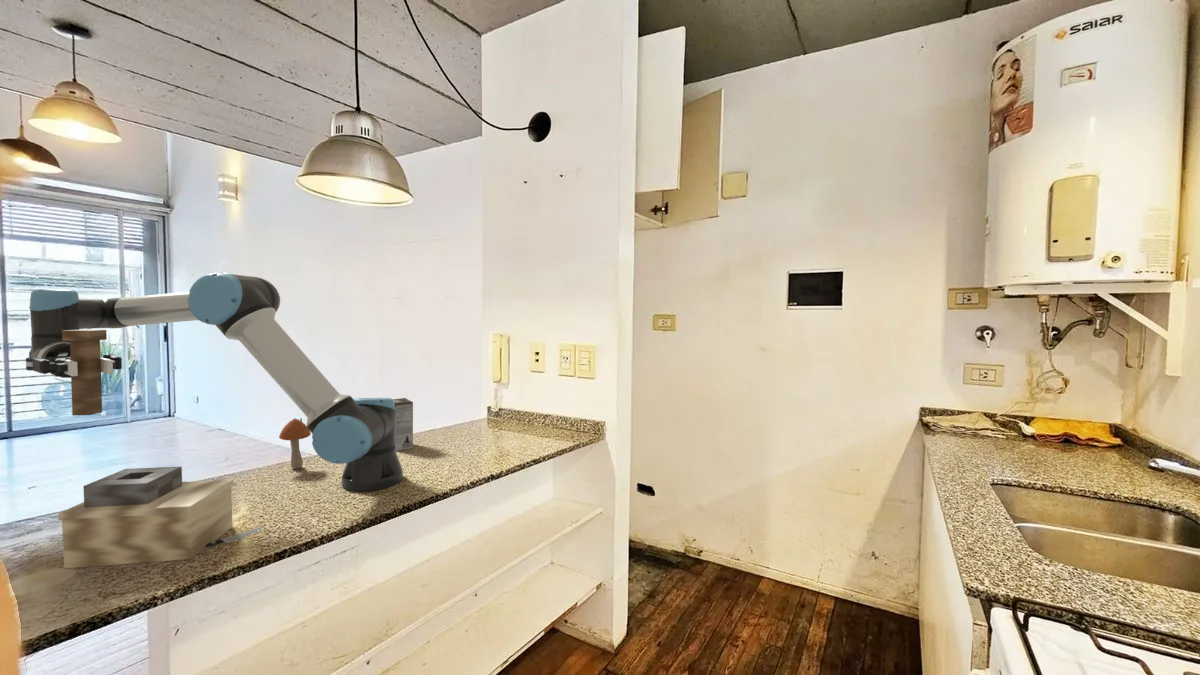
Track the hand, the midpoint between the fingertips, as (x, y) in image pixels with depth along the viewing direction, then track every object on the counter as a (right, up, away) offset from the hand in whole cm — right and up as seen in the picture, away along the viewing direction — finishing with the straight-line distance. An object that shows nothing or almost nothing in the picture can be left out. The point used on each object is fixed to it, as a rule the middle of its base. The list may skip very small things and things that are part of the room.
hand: (92, 368), depth 96 cm
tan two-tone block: (+12, -35, +1) cm, 37 cm away
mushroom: (+10, -33, +48) cm, 59 cm away
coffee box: (+31, -32, +72) cm, 85 cm away
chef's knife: (+25, -36, +5) cm, 44 cm away
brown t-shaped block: (-5, -10, +3) cm, 11 cm away
